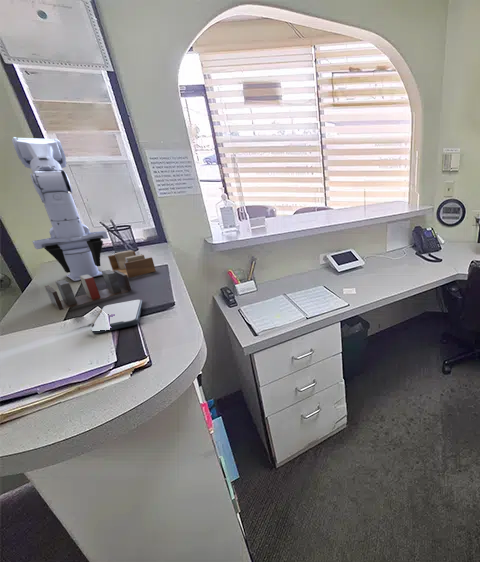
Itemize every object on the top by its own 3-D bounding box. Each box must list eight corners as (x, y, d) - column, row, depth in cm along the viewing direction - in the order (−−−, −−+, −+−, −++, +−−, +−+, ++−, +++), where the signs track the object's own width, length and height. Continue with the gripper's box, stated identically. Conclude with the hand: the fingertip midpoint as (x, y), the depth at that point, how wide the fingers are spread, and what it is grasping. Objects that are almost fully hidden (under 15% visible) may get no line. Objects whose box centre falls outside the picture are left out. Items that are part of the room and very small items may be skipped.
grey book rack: (61, 313, 81) (50, 288, 78) (53, 306, 85) (43, 282, 82) (132, 293, 93) (125, 271, 90) (122, 287, 97) (115, 266, 95)
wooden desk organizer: (112, 271, 112) (106, 253, 110) (138, 266, 118) (133, 248, 116) (130, 280, 103) (123, 260, 101) (156, 273, 110) (151, 254, 107)
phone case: (104, 310, 82) (91, 336, 70) (102, 305, 82) (88, 329, 69) (144, 303, 87) (139, 325, 74) (142, 298, 86) (137, 319, 73)
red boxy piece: (92, 299, 86) (84, 279, 84) (86, 295, 89) (79, 275, 87) (100, 297, 88) (93, 277, 86) (94, 293, 91) (87, 274, 88)
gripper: (29, 225, 73) (51, 279, 78) (105, 216, 84) (120, 264, 89) (23, 222, 77) (44, 273, 82) (96, 214, 88) (111, 260, 93)
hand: (83, 268), depth 86 cm, fingers open, 6 cm apart
